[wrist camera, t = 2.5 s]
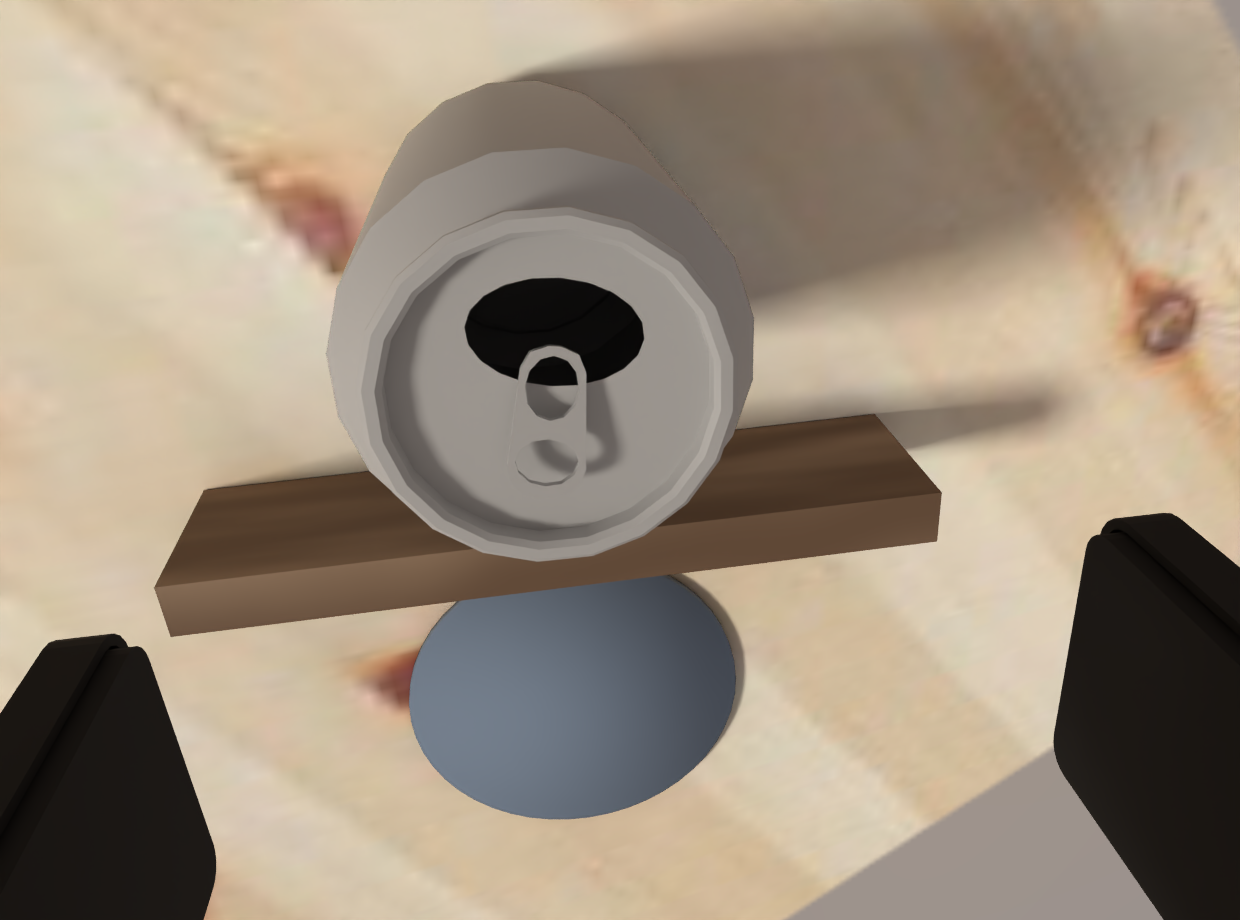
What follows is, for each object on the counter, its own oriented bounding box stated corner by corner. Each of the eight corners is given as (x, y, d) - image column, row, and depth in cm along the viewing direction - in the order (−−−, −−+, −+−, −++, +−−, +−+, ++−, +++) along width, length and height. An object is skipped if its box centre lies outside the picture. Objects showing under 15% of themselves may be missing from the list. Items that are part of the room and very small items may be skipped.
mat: (383, 578, 31) (382, 584, 31) (731, 536, 32) (733, 541, 32) (436, 832, 36) (435, 839, 36) (735, 789, 37) (737, 796, 37)
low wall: (204, 490, 29) (153, 587, 24) (874, 414, 31) (941, 492, 26) (216, 534, 30) (170, 636, 25) (872, 457, 31) (936, 541, 27)
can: (680, 91, 26) (822, 190, 15) (644, 365, 29) (740, 604, 18) (381, 59, 24) (305, 143, 14) (378, 348, 28) (316, 595, 17)
